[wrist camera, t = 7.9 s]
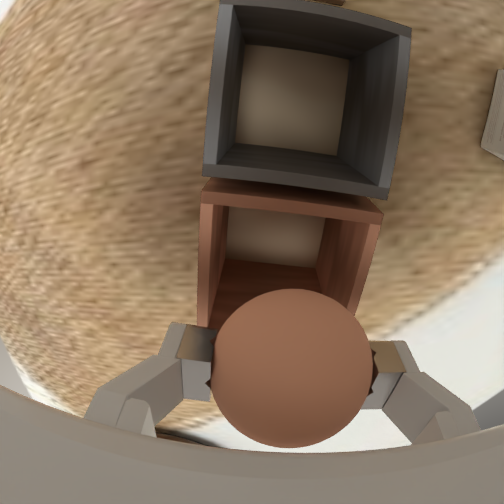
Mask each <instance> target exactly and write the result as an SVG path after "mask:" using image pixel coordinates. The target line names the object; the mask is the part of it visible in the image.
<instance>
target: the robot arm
mask: <svg viewBox="0 0 504 504" xmlns="http://www.w3.org/2000/svg"><path fill="white" fill-rule="evenodd" d="M217 335H218V329H216V328H209V327H203V326H196V325H190V324H182V323H176V322H172V323H171V324H170V325H169V328H168V330H167V333H166V335H165V338H164V341H163V343H162V346H161V348H160V351H159V353H158V355H152V356H150V357H149V358H147V359H145V360H144V361H142V362H141V363H139V364H137V365H136V366H134V367H132V368H131V369H129V370H127V371H126V372H124V373H122V374H121V375H119V376H118V377H116V378H114V379H113V380H111V381H109V382H108V383H106V384H104V385H103V386H101V387H99V388H98V389H97V391H96V393H95V395H94V397H93V399H92V401H91V403H90V405H89V407H88V410H87V412H86V414H85V416H84V418H81V417H78V416H75V415H72V414H70V413H67V412H64V411H61V410H58V409H56V408H53V407H50V406H48V405H45V404H43V403H40V402H38V401H35V400H33V399H30V398H28V397H26V396H23V395H21V394H19V393H17V392H14V391H12V390H10V389H8V388H6V387H3V386H1V385H0V504H504V424H503V425H500V426H496V427H493V428H489V429H486V430H482V431H481V429H480V427H479V425H478V422H477V420H476V418H475V416H474V414H473V412H472V410H471V408H470V406H469V405H468V404H466V403H465V402H464V401H462V400H461V399H460V398H458V397H457V396H456V395H454V394H453V393H451V392H450V391H449V390H447V389H446V388H445V387H443V386H442V385H441V384H439V383H438V382H437V381H435V380H434V379H433V378H431V377H430V376H429V375H427V374H426V373H425V372H420V370H419V368H418V366H417V364H416V362H415V360H414V358H413V356H412V354H411V352H410V350H409V348H408V346H407V344H406V342H405V341H369V344H370V348H371V352H372V359H373V374H372V381H371V385H370V389H369V392H368V395H367V397H366V400H365V402H364V404H363V405H362V407H361V409H382V411H383V412H384V413H385V414H386V415H387V416H388V417H389V418H390V420H391V421H392V422H393V423H394V424H395V425H396V426H397V427H398V428H399V430H400V431H401V432H402V433H403V434H404V435H405V436H406V437H407V438H408V439H409V440H410V442H411V443H412V444H411V445H410V446H403V447H395V448H387V449H378V450H367V451H354V452H334V453H281V452H261V451H247V450H236V449H226V448H218V447H210V446H203V445H196V444H190V443H183V442H178V441H172V440H167V439H162V438H157V436H156V432H155V428H154V426H155V425H156V424H158V423H159V422H160V421H161V420H162V419H163V418H164V417H165V416H166V415H167V414H168V413H170V412H171V411H172V410H173V409H174V408H175V407H176V406H177V405H178V404H179V403H180V402H181V401H182V400H183V398H184V399H192V400H200V401H209V402H210V398H211V392H212V390H211V384H210V378H211V371H212V361H213V353H214V346H213V344H214V342H215V340H216V337H217Z"/></svg>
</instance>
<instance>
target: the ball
mask: <svg viewBox="0 0 504 504" xmlns="http://www.w3.org/2000/svg"><path fill="white" fill-rule="evenodd" d="M213 346H214V353H213V361H212V371H211V378H210V384H211V390H212V393H213V397H214V399H215V401H216V403H217V405H218V407H219V409H220V411H221V412H222V414H223V415H224V416H225V418H226V419H227V420H228V422H229V423H230V424H231V425H232V426H234V427H235V428H236V429H237V430H238V431H239V432H241V433H242V434H244V435H245V436H247V437H249V438H251V439H252V440H254V441H257V442H259V443H262V444H265V445H269V446H273V447H279V448H299V447H305V446H310V445H313V444H316V443H319V442H321V441H324V440H326V439H328V438H330V437H332V436H334V435H335V434H337V433H338V432H339V431H341V430H342V429H343V428H344V427H345V426H347V425H348V424H349V423H350V422H351V421H352V419H353V418H354V417H355V416H356V415H357V413H358V412H359V410H360V409H361V407H362V405H363V404H364V402H365V400H366V397H367V395H368V392H369V389H370V385H371V381H372V374H373V359H372V352H371V348H370V344H369V341H368V339H367V336H366V334H365V332H364V330H363V328H362V327H361V325H360V323H359V322H358V321H357V319H356V318H355V317H354V316H353V315H352V314H351V312H350V311H349V310H347V309H346V308H345V307H344V306H342V305H341V304H340V303H339V302H337V301H335V300H334V299H332V298H330V297H328V296H325V295H323V294H320V293H317V292H314V291H310V290H304V289H281V290H276V291H271V292H268V293H264V294H262V295H260V296H257V297H255V298H253V299H252V300H250V301H248V302H246V303H245V304H243V305H242V306H241V307H239V308H238V309H237V310H236V311H235V312H234V313H233V314H232V315H231V316H230V317H229V318H228V319H227V320H226V322H225V323H224V324H223V326H222V327H221V329H220V331H219V333H218V335H217V337H216V340H215V342H214V344H213Z"/></svg>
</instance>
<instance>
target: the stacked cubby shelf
mask: <svg viewBox="0 0 504 504" xmlns="http://www.w3.org/2000/svg"><path fill="white" fill-rule="evenodd" d="M411 29H412V28H410V27H407V26H404V25H401V24H398V23H395V22H392V21H389V20H385V19H382V18H379V17H375V16H372V15H368V14H364V13H361V12H357V11H353V10H349V9H344V8H340V7H335V6H330V5H325V4H320V3H314V2H309V1H302V0H220V5H219V12H218V19H217V26H216V34H215V42H214V50H213V59H212V68H211V77H210V87H209V97H208V107H207V119H206V130H205V143H204V156H203V171H202V176H207V177H211V179H210V180H209V181H208V183H207V184H206V185H205V187H204V188H203V189H202V191H201V205H200V226H199V251H198V288H197V326H203V327H209V328H216V329H218V333H219V331H220V329H221V327H222V326H223V324H224V323H225V322H226V320H227V319H228V318H229V317H230V316H231V315H232V314H233V313H234V312H235V311H236V310H237V309H238V308H239V307H241V306H242V305H243V304H245V303H246V302H248V301H250V300H252V299H253V298H255V297H257V296H260V295H262V294H264V293H268V292H271V291H276V290H281V289H304V290H310V291H314V292H317V293H320V294H323V295H325V296H328V297H330V298H332V299H334V300H335V301H337V302H339V303H340V304H341V305H342V306H344V307H345V308H346V309H347V310H349V311H350V312H351V314H352V315H353V316H355V313H356V310H357V307H358V303H359V300H360V297H361V294H362V291H363V288H364V284H365V281H366V278H367V274H368V271H369V268H370V264H371V261H372V257H373V254H374V250H375V246H376V243H377V239H378V235H379V231H380V227H381V223H382V219H383V215H384V214H383V213H382V212H381V211H380V210H379V209H378V208H377V207H376V206H375V205H374V204H373V203H372V202H371V201H370V200H369V199H368V198H367V197H371V198H377V199H382V200H387V198H388V193H389V189H390V184H391V179H392V174H393V169H394V164H395V159H396V154H397V148H398V143H399V137H400V131H401V124H402V118H403V111H404V104H405V96H406V88H407V79H408V69H409V58H410V45H411Z"/></svg>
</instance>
